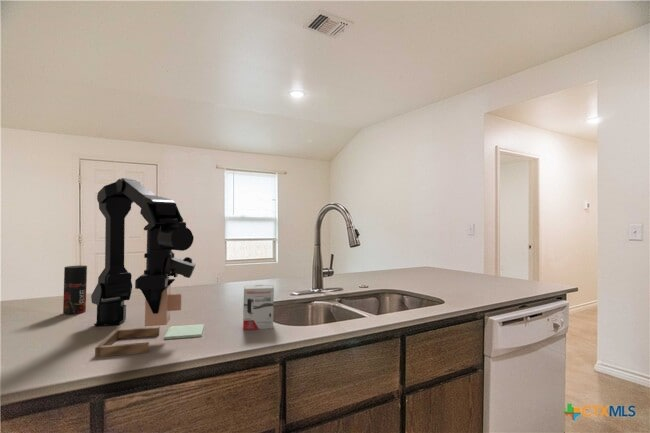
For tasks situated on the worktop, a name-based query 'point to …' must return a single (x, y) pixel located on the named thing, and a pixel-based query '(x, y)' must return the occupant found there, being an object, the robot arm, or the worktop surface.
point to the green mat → (184, 331)
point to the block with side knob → (163, 308)
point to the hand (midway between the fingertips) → (158, 310)
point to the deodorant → (74, 290)
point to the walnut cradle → (108, 349)
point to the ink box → (258, 306)
